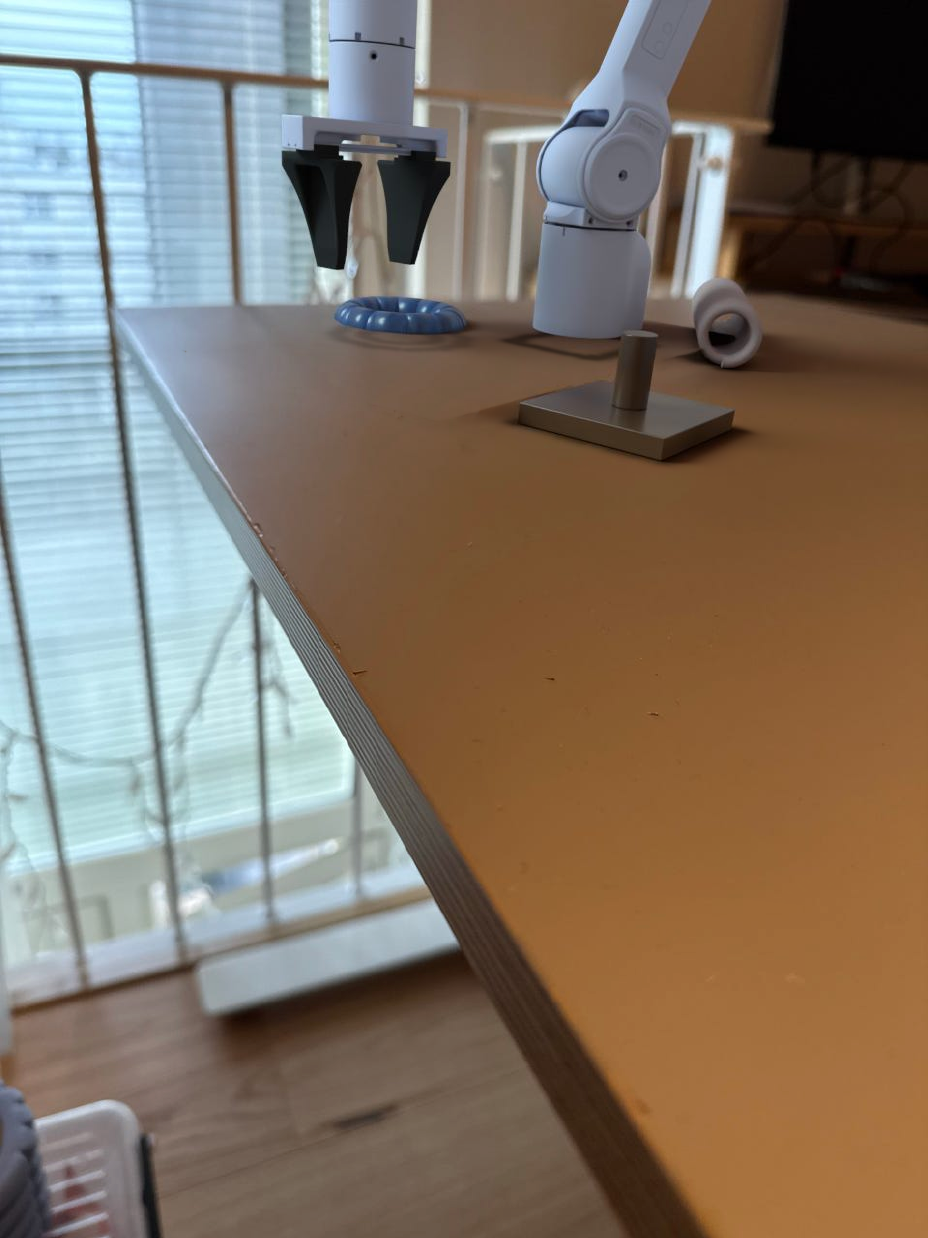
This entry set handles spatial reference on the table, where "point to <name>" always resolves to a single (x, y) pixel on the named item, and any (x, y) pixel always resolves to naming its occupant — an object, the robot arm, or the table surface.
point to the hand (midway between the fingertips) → (367, 265)
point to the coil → (726, 322)
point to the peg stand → (628, 408)
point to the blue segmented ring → (400, 315)
